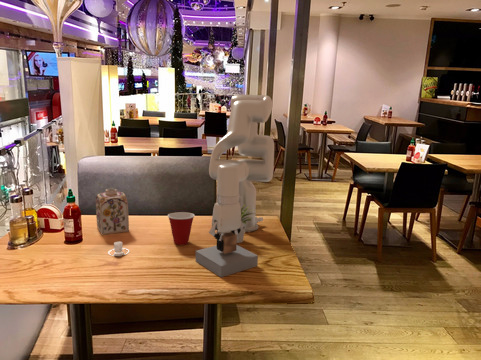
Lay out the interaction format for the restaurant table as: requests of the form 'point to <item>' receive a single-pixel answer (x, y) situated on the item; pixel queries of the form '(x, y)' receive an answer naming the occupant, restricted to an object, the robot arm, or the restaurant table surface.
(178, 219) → the plastic cup
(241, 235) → the house plant
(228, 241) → the walnut block
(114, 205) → the decorative jar
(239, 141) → the robot arm
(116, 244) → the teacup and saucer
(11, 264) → the restaurant table surface
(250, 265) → the grey square slab
